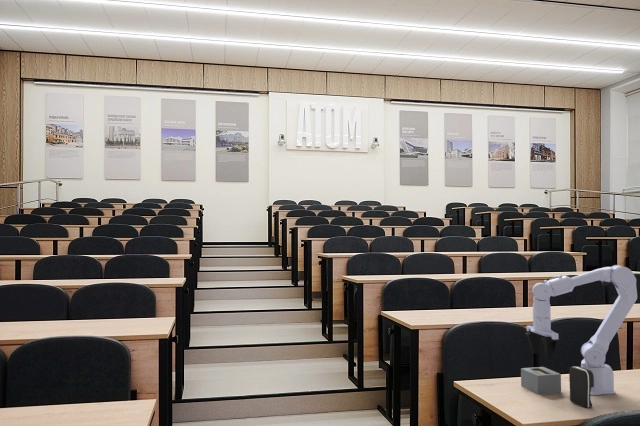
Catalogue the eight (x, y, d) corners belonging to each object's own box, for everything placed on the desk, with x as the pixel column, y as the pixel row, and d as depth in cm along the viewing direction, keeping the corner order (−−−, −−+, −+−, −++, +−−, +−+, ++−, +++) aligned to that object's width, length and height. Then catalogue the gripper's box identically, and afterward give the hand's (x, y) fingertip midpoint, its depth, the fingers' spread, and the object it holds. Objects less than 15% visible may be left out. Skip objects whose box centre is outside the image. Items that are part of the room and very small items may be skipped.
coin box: (543, 383, 174) (543, 366, 174) (561, 392, 165) (560, 374, 165) (521, 385, 172) (520, 368, 172) (537, 393, 163) (537, 375, 163)
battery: (596, 407, 150) (595, 370, 151) (586, 408, 149) (586, 371, 150) (578, 400, 157) (577, 364, 158) (568, 401, 156) (568, 365, 156)
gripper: (519, 313, 179) (519, 351, 178) (545, 321, 165) (546, 361, 164) (536, 313, 180) (536, 350, 180) (563, 320, 166) (564, 360, 166)
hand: (542, 355), depth 172 cm, fingers open, 7 cm apart
